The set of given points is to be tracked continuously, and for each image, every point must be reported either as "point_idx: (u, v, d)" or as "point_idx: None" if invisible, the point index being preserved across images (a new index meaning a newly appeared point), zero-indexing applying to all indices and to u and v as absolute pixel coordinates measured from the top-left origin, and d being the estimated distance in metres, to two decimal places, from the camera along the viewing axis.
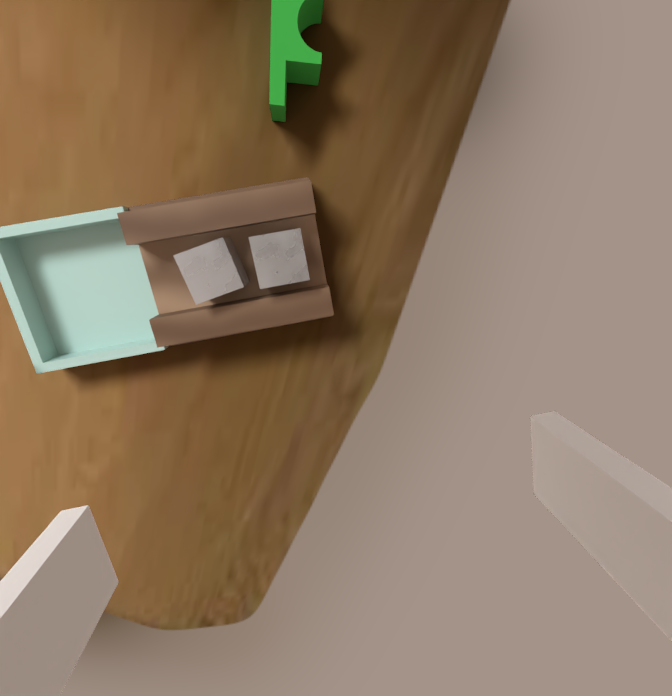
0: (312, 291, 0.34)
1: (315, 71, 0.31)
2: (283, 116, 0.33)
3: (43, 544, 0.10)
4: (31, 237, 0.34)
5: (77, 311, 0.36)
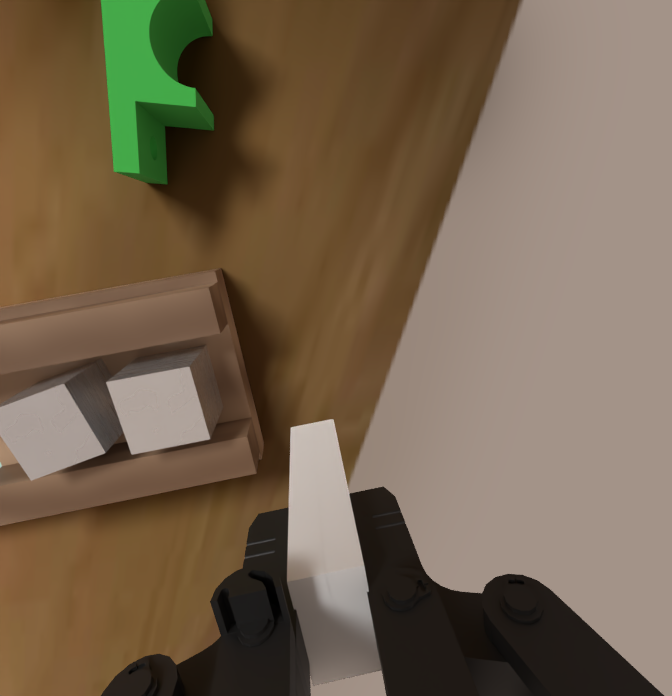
0: (221, 443, 0.22)
1: (195, 115, 0.20)
2: (155, 180, 0.21)
3: (300, 445, 0.13)
4: None
5: None
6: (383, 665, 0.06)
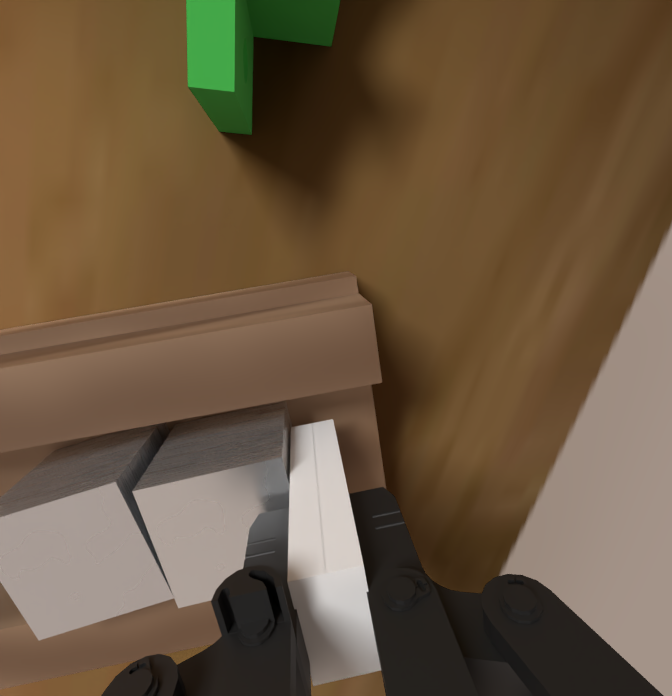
0: None
1: None
2: (242, 122, 0.13)
3: (300, 444, 0.13)
4: None
5: None
6: (383, 665, 0.06)
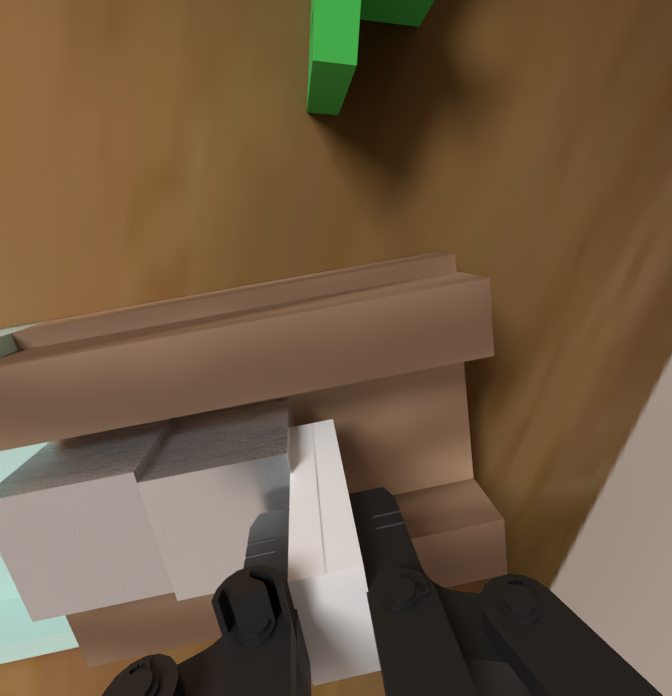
0: (464, 530, 0.14)
1: None
2: (338, 101, 0.13)
3: (301, 444, 0.13)
4: None
5: None
6: (382, 665, 0.06)
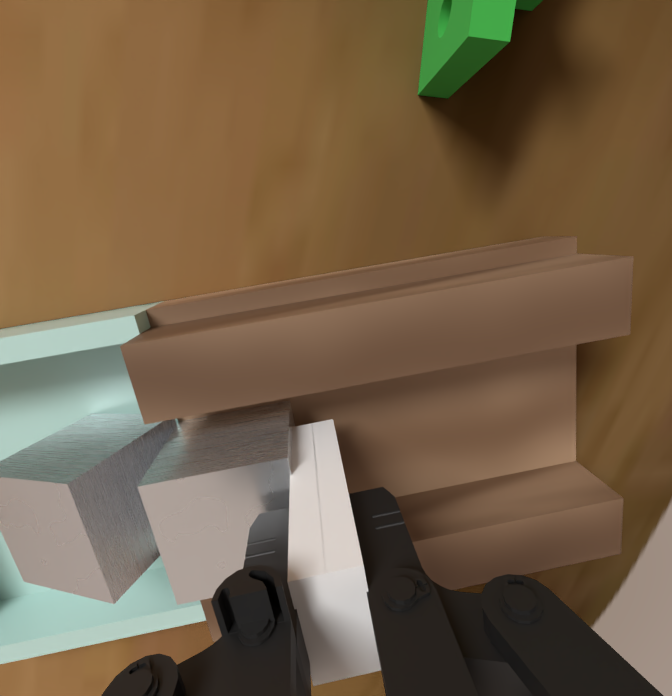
0: (584, 509, 0.14)
1: None
2: (460, 82, 0.13)
3: (301, 445, 0.13)
4: None
5: None
6: (383, 665, 0.06)
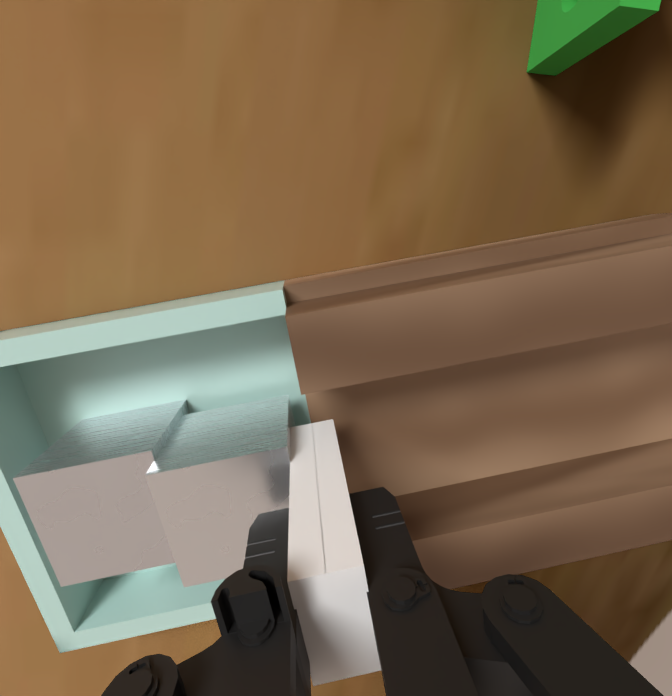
0: None
1: None
2: (580, 57, 0.13)
3: (300, 445, 0.13)
4: None
5: None
6: (382, 665, 0.06)
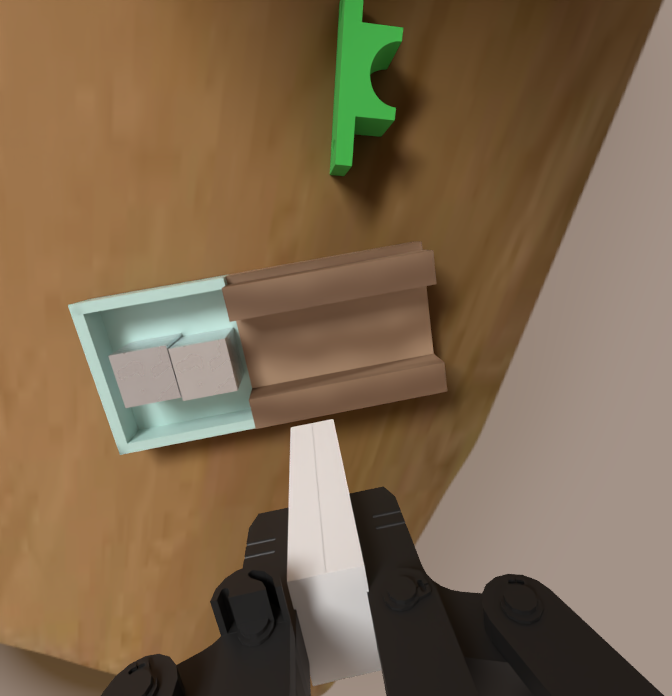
0: (426, 367, 0.31)
1: (384, 125, 0.28)
2: (344, 172, 0.30)
3: (300, 445, 0.13)
4: None
5: None
6: (383, 665, 0.06)
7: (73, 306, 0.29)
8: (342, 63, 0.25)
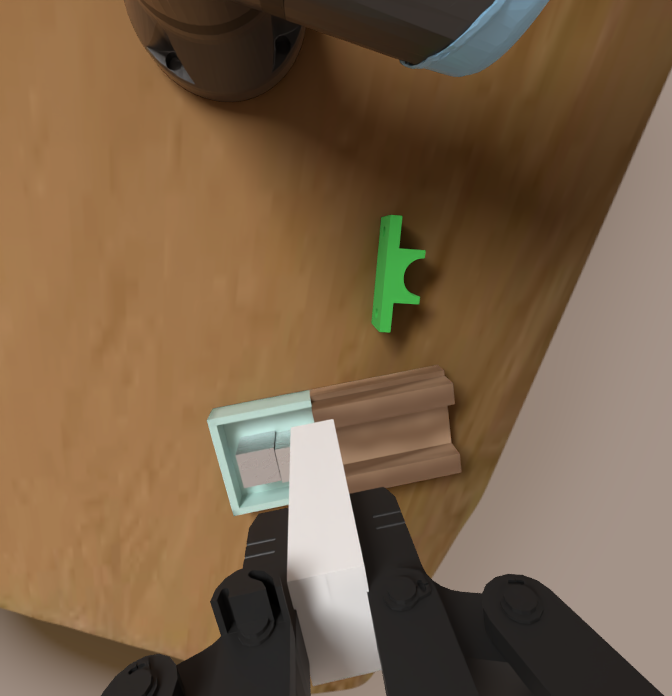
0: (447, 457, 0.45)
1: None
2: None
3: (300, 445, 0.13)
4: None
5: None
6: (383, 665, 0.06)
7: (210, 421, 0.42)
8: (385, 272, 0.39)
